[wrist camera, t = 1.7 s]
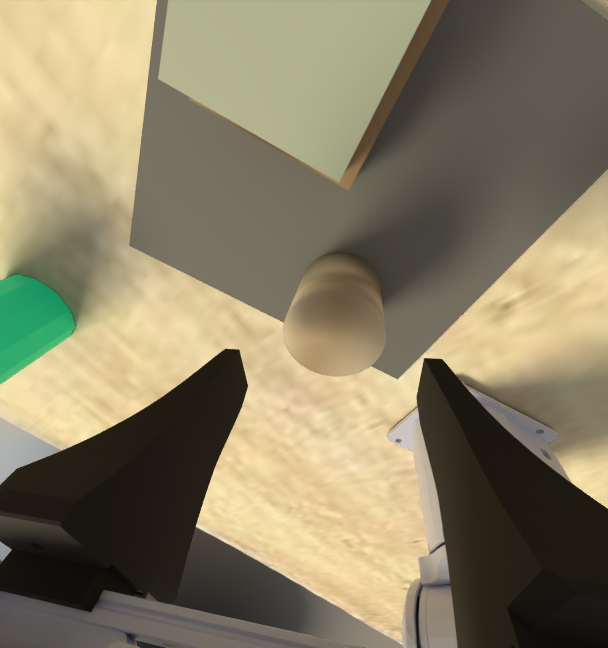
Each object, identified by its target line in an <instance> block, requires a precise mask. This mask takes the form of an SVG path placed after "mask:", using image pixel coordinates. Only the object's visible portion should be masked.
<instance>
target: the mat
mask: <svg viewBox="0 0 608 648" xmlns="http://www.w3.org/2000/svg"><path fill="white" fill-rule="evenodd" d="M167 6H168V0H157V5H156V14H155V23H154V32H153V41H152V50H151V58H150V67H149V76H148V85H147V94H146V103H145V112H144V121H143V129H142V138H141V147H140V156H139V165H138V174H137V183H136V191H135V200H134V209H133V218H132V227H131V236H130V245H129V246H131V247H133V248H135V249H137V250H139V251H141V252H143V253H145V254H147V255H149V256H151V257H153V258H155V259H157V260H159V261H161V262H163V263H165V264H167V265H169V266H171V267H174V268H176V269H178V270H180V271H182V272H184V273H186V274H188V275H190V276H192V277H194V278H196V279H198V280H200V281H202V282H204V283H206V284H208V285H210V286H212V287H214V288H216V289H218V290H220V291H222V292H224V293H226V294H228V295H230V296H232V297H234V298H236V299H238V300H240V301H242V302H244V303H246V304H248V305H250V306H252V307H254V308H256V309H258V310H260V311H262V312H264V313H266V314H268V315H270V316H272V317H274V318H276V319H278V320H280V321H282V322H284V321H285V318H286V316H287V313H288V311H289V309H290V306H291V304H292V301H293V299H294V297H295V294H296V292H297V289H298V287H299V285H300V282H301V280H302V277H303V275H304V273H305V271H306V269H307V268H308V267H309V266H310V264H311V263H313V262H314V261H315V260H316V259H318V258H319V257H321V256H323V255H326V254H330V253H335V252H345V253H351V254H354V255H357V256H359V257H361V258H363V259H364V260H366V261H367V262H368V263H369V264H370V265H371V266H372V267H373V268H374V270H375V271H376V273H377V275H378V278H379V281H380V287H381V296H382V304H383V313H384V321H385V330H386V343H385V347H384V350H383V352H382V354H381V356H380V357H379V358H378V360H377V361H376V362H375V363H374V364H373V365H371V366H372V367H374V368H376V369H378V370H380V371H382V372H384V373H386V374H388V375H390V376H392V377H394V378H396V379H398V378H399V377H400V376H401V375H402V374H403V373H404V372H405V371H406V370H407V369H408V368H409V367H410V366H411V365H412V364H413V363H414V362H415V361H416V360H417V359H418V358H419V357H420V356H421V355H422V354H423V353H424V352H425V351H426V350H427V349H428V348H429V347H430V346H431V345H432V344H433V343H434V342H435V341H436V340H437V339H438V338H439V337H440V336H441V335H442V334H443V333H444V332H445V331H446V330H447V329H448V328H449V327H450V326H451V325H452V324H453V323H454V322H455V321H456V320H457V319H458V318H459V317H460V316H461V315H462V314H463V313H464V312H465V311H466V310H467V309H468V308H469V307H470V306H471V305H472V304H473V303H474V302H475V301H476V300H477V299H478V298H479V297H480V296H481V295H482V294H483V293H484V292H485V291H486V290H487V289H488V288H489V287H490V286H491V285H492V284H493V283H494V282H495V281H496V280H497V279H498V278H499V277H500V276H501V275H502V274H503V273H504V272H505V271H506V270H507V269H508V268H509V267H510V266H511V265H512V264H513V263H514V262H515V261H516V260H517V259H518V258H519V257H520V256H521V255H522V254H523V253H524V252H525V251H526V250H527V249H528V248H529V247H530V246H531V245H532V244H533V243H534V242H535V241H536V240H537V239H538V238H539V237H540V236H541V235H542V234H543V233H544V232H545V231H546V230H547V229H548V228H549V227H550V226H551V225H552V224H553V223H554V222H555V221H556V220H557V219H558V218H559V217H560V216H561V215H562V214H563V213H564V212H565V211H566V210H567V209H568V208H569V207H570V206H571V205H572V204H573V203H574V202H575V201H576V200H577V199H578V198H579V197H580V196H581V195H582V194H583V193H584V192H585V191H586V190H587V189H588V188H589V187H590V186H591V185H592V184H593V183H594V182H595V181H596V180H597V179H598V178H599V177H600V176H601V175H602V174H603V173H604V172H605V171H606V170H607V169H608V21H607V20H606V19H605V18H603V17H602V16H600V15H599V14H598V13H596V12H595V11H594V10H592V9H591V8H590V7H588V6H587V5H585V4H584V3H583V2H581V1H580V0H450V1H449V3H448V4H447V6H446V8H445V10H444V12H443V14H442V16H441V18H440V20H439V21H438V23H437V25H436V27H435V29H434V31H433V33H432V35H431V36H430V38H429V40H428V42H427V44H426V46H425V48H424V50H423V52H422V53H421V55H420V57H419V59H418V61H417V63H416V65H415V67H414V68H413V70H412V72H411V74H410V76H409V78H408V80H407V82H406V84H405V85H404V87H403V89H402V91H401V93H400V95H399V97H398V99H397V100H396V102H395V104H394V106H393V108H392V110H391V112H390V114H389V115H388V117H387V119H386V121H385V123H384V125H383V127H382V129H381V131H380V132H379V134H378V136H377V138H376V140H375V142H374V144H373V146H372V147H371V149H370V151H369V153H368V155H367V157H366V159H365V161H364V163H363V164H362V166H361V168H360V170H359V172H358V174H357V176H356V178H355V179H354V181H353V183H352V185H351V187H350V189H349V191H348V190H346V189H345V188H343V187H341V186H339V185H338V184H336V183H334V182H332V181H331V180H329V179H327V178H325V177H324V176H322V175H320V174H318V173H317V172H315V171H313V170H311V169H310V168H308V167H306V166H304V165H303V164H301V163H299V162H298V161H296V160H294V159H292V158H291V157H289V156H287V155H285V154H284V153H282V152H280V151H278V150H277V149H275V148H273V147H271V146H270V145H268V144H266V143H264V142H263V141H261V140H259V139H257V138H256V137H254V136H252V135H250V134H249V133H247V132H245V131H243V130H242V129H240V128H238V127H236V126H235V125H233V124H231V123H229V122H228V121H226V120H224V119H222V118H221V117H219V116H217V115H215V114H214V113H212V112H210V111H208V110H207V109H205V108H203V107H201V106H200V105H198V104H196V103H194V102H193V101H191V100H189V98H190V97H189V96H187V95H185V94H183V93H182V92H180V91H178V90H176V89H175V88H173V87H171V86H169V85H168V84H166V83H164V82H163V81H161V80H159V79H158V76H159V68H160V60H161V53H162V45H163V37H164V29H165V22H166V14H167Z"/></svg>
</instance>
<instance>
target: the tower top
mask: <svg viewBox="0 0 608 648" xmlns="http://www.w3.org/2000/svg"><path fill="white" fill-rule="evenodd" d="M430 2H431V0H168V6H167V14H166V22H165V29H164V37H163V45H162V53H161V60H160V68H159V76H158V79H159V80H161V81H163V82H164V83H166V84H168V85H169V86H171V87H173V88H175V89H176V90H178V91H180V92H182V93H183V94H185V95H187V96H189V97H190V98H192V99H194V100H196V101H197V102H199V103H201V104H203V105H204V106H206V107H208V108H210V109H211V110H213V111H215V112H217V113H218V114H220V115H222V116H224V117H225V118H227V119H229V120H231V121H232V122H234V123H236V124H238V125H239V126H241V127H243V128H244V129H246V130H248V131H250V132H251V133H253V134H255V135H257V136H258V137H260V138H262V139H264V140H265V141H267V142H269V143H271V144H272V145H274V146H276V147H278V148H279V149H281V150H283V151H285V152H286V153H288V154H290V155H292V156H293V157H295V158H297V159H299V160H300V161H302V162H304V163H306V164H307V165H309V166H311V167H313V168H314V169H316V170H318V171H319V172H321V173H323V174H325V175H326V176H328V177H330V178H332V179H333V180H335V181H337V182H340V180H341V178H342V176H343V174H344V172H345V170H346V168H347V166H348V164H349V162H350V160H351V158H352V156H353V154H354V152H355V150H356V148H357V146H358V144H359V142H360V140H361V138H362V136H363V134H364V132H365V130H366V129H367V127H368V125H369V123H370V121H371V119H372V117H373V115H374V113H375V111H376V109H377V107H378V105H379V103H380V101H381V99H382V97H383V95H384V93H385V91H386V89H387V87H388V85H389V83H390V81H391V79H392V77H393V75H394V73H395V71H396V69H397V67H398V65H399V63H400V61H401V59H402V57H403V55H404V53H405V51H406V49H407V47H408V45H409V43H410V41H411V39H412V37H413V35H414V33H415V31H416V29H417V28H418V26H419V24H420V22H421V20H422V18H423V16H424V14H425V12H426V10H427V8H428V6H429V4H430Z"/></svg>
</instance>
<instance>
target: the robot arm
mask: <svg viewBox="0 0 608 648" xmlns="http://www.w3.org/2000/svg"><path fill="white" fill-rule="evenodd" d="M247 388H248V384H247V380H246V376H245V372H244V368H243V363H242V359H241V355H240V351H239V350H236V349H225V350H223V351H222V352H221V353H219V354H218V355H217V356H215V357H214V358H213V359H212V360H210V361H209V362H208V363H207V364H205V365H204V366H203V367H202V368H200V369H199V370H198V371H196V372H195V373H194V374H193V375H191V376H190V377H189V378H188V379H186V380H185V381H184V382H182V383H181V384H179V385H178V386H177V387H175V388H174V389H173V390H171V391H170V392H168V393H167V394H166V395H164V396H163V397H161V398H160V399H158V400H157V401H155V402H154V403H152V404H151V405H149V406H148V407H146V408H144V409H143V410H141V411H139V412H138V413H136V414H134V415H133V416H131V417H129V418H127V419H125V420H124V421H122V422H120V423H118V424H116V425H114V426H113V427H111V428H109V429H107V430H105V431H103V432H101V433H99V434H97V435H95V436H93V437H91V438H89V439H87V440H85V441H83V442H80V443H78V444H76V445H74V446H72V447H69V448H67V449H65V450H63V451H60V452H58V453H56V454H53V455H51V456H48V457H46V458H43V459H41V460H38V461H36V462H33V463H31V464H28V465H26V466H23V467H20V468H18V469H16V470H15V471H14V472H13V473H12V474H11V475H10V476H9V477H8V478H7V479H6V480H5V481H4V482H3V483H2V484H1V485H0V541H1V542H2V543H3V544H5V545H6V546H8V547H9V548H11V549H12V551H11V552H10V553H9V554H8V555H7V557H6V558H5V559H4V560H3V561H2V560H0V648H140V647H137V644H136V641H135V640H138V641H142V642H146V643H150V644H154V645H158V646H162V647H166V648H364V647H359V646H355V645H351V644H346V643H342V642H337V641H333V640H328V639H324V638H319V637H315V636H310V635H305V634H301V633H297V632H292V631H288V630H283V629H278V628H274V627H269V626H265V625H260V624H256V623H251V622H247V621H242V620H238V619H233V618H229V617H224V616H219V615H215V614H210V613H206V612H202V611H197V610H192V609H188V608H183V607H179V606H174V605H170V603H172V602H173V601H174V600H175V599H176V597H177V594H178V590H179V585H180V581H181V578H182V574H183V570H184V566H185V562H186V559H187V554H188V551H189V548H190V544H191V541H192V537H193V534H194V530H195V527H196V523H197V520H198V517H199V514H200V510H201V507H202V504H203V501H204V498H205V495H206V492H207V489H208V486H209V483H210V480H211V477H212V474H213V471H214V468H215V466H216V463H217V461H218V459H219V456H220V454H221V452H222V450H223V447H224V445H225V443H226V441H227V439H228V437H229V434H230V432H231V430H232V428H233V426H234V423H235V421H236V419H237V417H238V414H239V412H240V410H241V407H242V404H243V401H244V398H245V395H246V391H247ZM417 406H418V407H417V408H416V409H415V410H413V411H412V412H411V413H410V414H409V415H408V416H406V417H405V418H404V419H403V420H402V421H401V422H400V423H398V424H397V425H396V426H395V427H394V428H393V429H391V430H390V431H389V432H388V433H387V439H388V440H389V441H391V442H393V443H395V444H397V445H399V446H402V447H404V448H406V449H408V450H410V451H412V452H413V457H414V463H415V469H416V476H417V482H418V488H419V494H420V501H421V507H422V513H423V520H424V526H425V532H426V539H427V545H428V551H429V555H428V556H424V557H419V558H418V561H419V569H420V576H421V578H419V579H416V580H414V581H413V582H412V583H411V585H410V587H409V589H408V592H407V596H406V601H405V604H404V608H403V615H402V644H403V648H608V509H607V508H606V507H604V506H603V505H601V504H600V503H599V502H597V501H596V500H594V499H593V498H591V497H590V496H589V495H587V494H586V493H584V492H583V491H582V490H580V489H579V488H577V487H576V486H575V485H573V484H572V483H571V481H570V479H569V478H568V476H567V474H566V473H565V471H564V469H563V468H562V466H561V464H560V463H559V461H558V459H557V458H556V456H555V454H554V453H553V451H552V449H551V448H550V446H549V443H551V442H553V441H555V440H556V439H557V438H558V434H557V432H556V431H555V430H553V429H551V428H549V427H547V426H545V425H543V424H541V423H539V422H538V421H536V420H534V419H532V418H530V417H528V416H526V415H524V414H522V413H520V412H518V411H516V410H514V409H512V408H510V407H508V406H506V405H504V404H502V403H500V402H498V401H496V400H495V399H493V398H491V397H489V396H487V395H485V394H483V393H481V392H479V391H477V390H475V389H473V388H471V387H469V386H467V385H465V384H463V383H462V382H461V381H460V380H459V379H458V377H457V376H456V375H455V374H454V373H453V371H452V370H451V369H450V368H449V367H448V365H447V364H446V363H445V362H444V361H443V360H442V359H429V358H424V362H423V367H422V372H421V377H420V382H419V388H418V393H417Z"/></svg>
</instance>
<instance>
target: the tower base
mask: <svg viewBox="0 0 608 648" xmlns="http://www.w3.org/2000/svg"><path fill="white" fill-rule="evenodd" d="M449 1H450V0H431V2H430V4H429V6H428V8H427V10H426V12H425V14H424V16H423V18H422V20H421V22H420V24H419V26H418V28H417V29H416V31H415V33H414V35H413V37H412V39H411V41H410V43H409V45H408V47H407V49H406V51H405V53H404V55H403V57H402V59H401V61H400V63H399V65H398V67H397V69H396V71H395V73H394V75H393V77H392V79H391V81H390V83H389V85H388V87H387V89H386V91H385V93H384V95H383V97H382V99H381V101H380V103H379V105H378V107H377V109H376V111H375V113H374V115H373V117H372V119H371V121H370V123H369V125H368V127H367V129H366V130H365V132H364V134H363V136H362V138H361V140H360V142H359V144H358V146H357V148H356V150H355V152H354V154H353V156H352V158H351V160H350V162H349V164H348V166H347V168H346V170H345V172H344V174H343V176H342V178H341V180H340V182H337V181H335V180H333V179H332V178H330V177H328V176H326V175H325V174H323V173H321V172H319V171H318V170H316V169H314V168H313V167H311V166H309V165H307V164H306V163H304V162H302V161H300V160H299V159H297V158H295V157H293V156H292V155H290V154H288V153H286V152H285V151H283V150H281V149H279V148H278V147H276V146H274V145H272V144H271V143H269V142H267V141H265V140H264V139H262V138H260V137H258V136H257V135H255V134H253V133H251V132H250V131H248V130H246V129H244V128H243V127H241V126H239V125H238V124H236V123H234V122H232V121H231V120H229V119H227V118H225V117H224V116H222V115H220V114H218V113H217V112H215V111H213V110H211V109H210V108H208V107H206V106H204V105H203V104H201V103H199V102H197V101H196V100H194V99H192V98H189V100H191V101H193V102H194V103H196V104H198V105H200V106H201V107H203V108H205V109H207V110H208V111H210V112H212V113H214V114H215V115H217V116H219V117H221V118H222V119H224V120H226V121H228V122H229V123H231V124H233V125H235V126H236V127H238V128H240V129H242V130H243V131H245V132H247V133H249V134H250V135H252V136H254V137H256V138H257V139H259V140H261V141H263V142H264V143H266V144H268V145H270V146H271V147H273V148H275V149H277V150H278V151H280V152H282V153H284V154H285V155H287V156H289V157H291V158H292V159H294V160H296V161H298V162H299V163H301V164H303V165H304V166H306V167H308V168H310V169H311V170H313V171H315V172H317V173H318V174H320V175H322V176H324V177H325V178H327V179H329V180H331V181H332V182H334V183H336V184H338V185H339V186H341V187H343V188H345V189H346V190H348V191H349V189H350V187H351V185H352V183H353V181H354V179H355V178H356V176H357V174H358V172H359V170H360V168H361V166H362V164H363V163H364V161H365V159H366V157H367V155H368V153H369V151H370V149H371V147H372V146H373V144H374V142H375V140H376V138H377V136H378V134H379V132H380V131H381V129H382V127H383V125H384V123H385V121H386V119H387V117H388V115H389V114H390V112H391V110H392V108H393V106H394V104H395V102H396V100H397V99H398V97H399V95H400V93H401V91H402V89H403V87H404V85H405V84H406V82H407V80H408V78H409V76H410V74H411V72H412V70H413V68H414V67H415V65H416V63H417V61H418V59H419V57H420V55H421V53H422V52H423V50H424V48H425V46H426V44H427V42H428V40H429V38H430V36H431V35H432V33H433V31H434V29H435V27H436V25H437V23H438V21H439V20H440V18H441V16H442V14H443V12H444V10H445V8H446V6H447V4H448V3H449Z"/></svg>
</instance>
